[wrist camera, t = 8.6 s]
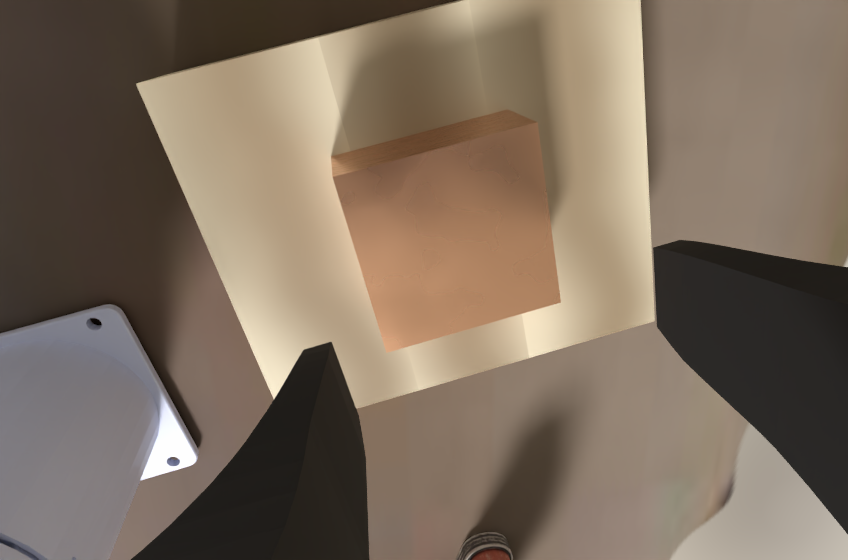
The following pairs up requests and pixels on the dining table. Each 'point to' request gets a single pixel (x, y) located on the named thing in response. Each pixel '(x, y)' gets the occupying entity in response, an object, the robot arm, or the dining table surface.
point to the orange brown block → (450, 226)
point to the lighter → (486, 547)
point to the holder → (399, 117)
